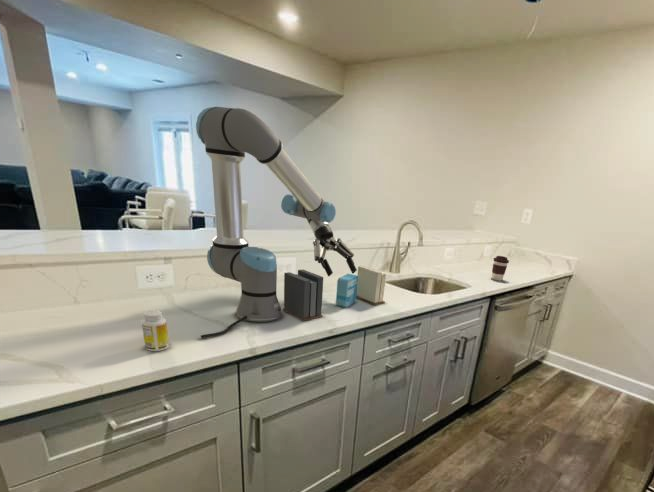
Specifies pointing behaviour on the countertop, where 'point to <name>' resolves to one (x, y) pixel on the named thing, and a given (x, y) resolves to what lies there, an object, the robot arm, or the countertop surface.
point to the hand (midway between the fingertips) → (343, 273)
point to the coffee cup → (499, 267)
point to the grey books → (303, 294)
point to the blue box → (346, 290)
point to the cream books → (370, 285)
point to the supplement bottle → (155, 331)
